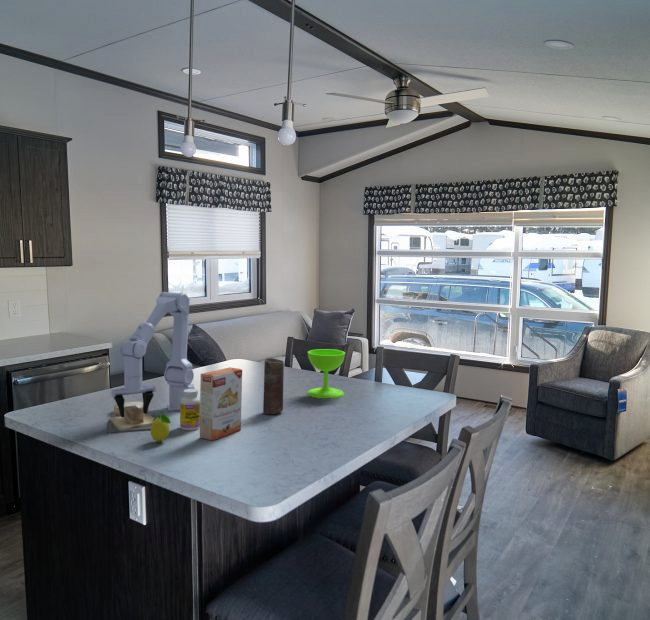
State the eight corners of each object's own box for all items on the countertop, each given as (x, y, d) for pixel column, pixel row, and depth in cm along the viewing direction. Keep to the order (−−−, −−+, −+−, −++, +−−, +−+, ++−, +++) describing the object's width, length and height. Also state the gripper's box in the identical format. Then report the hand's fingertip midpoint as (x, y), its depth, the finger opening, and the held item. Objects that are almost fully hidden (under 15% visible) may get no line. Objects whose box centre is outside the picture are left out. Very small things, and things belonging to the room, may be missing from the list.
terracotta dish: (148, 406, 208) (148, 400, 208) (148, 415, 197) (148, 408, 197) (114, 408, 204) (114, 402, 204) (113, 418, 193) (113, 410, 193)
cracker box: (213, 441, 171) (213, 375, 169) (198, 438, 174) (199, 373, 172) (242, 430, 183) (243, 368, 181) (228, 427, 186) (229, 366, 184)
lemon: (170, 445, 167) (170, 412, 166) (150, 446, 166) (150, 414, 165) (170, 437, 174) (170, 407, 173) (150, 439, 172) (150, 408, 171)
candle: (272, 408, 210) (273, 357, 208) (287, 412, 205) (288, 359, 203) (259, 413, 203) (259, 359, 201) (274, 416, 199) (274, 362, 197)
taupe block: (146, 414, 196) (146, 402, 196) (158, 424, 186) (158, 410, 185) (108, 420, 189) (108, 407, 188) (119, 430, 178) (118, 416, 178)
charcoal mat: (157, 415, 197) (157, 414, 197) (159, 429, 182) (159, 427, 182) (109, 419, 192) (109, 417, 192) (107, 433, 177) (107, 431, 177)
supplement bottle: (182, 432, 180) (182, 393, 178) (178, 426, 186) (178, 389, 184) (202, 429, 183) (203, 391, 182) (197, 424, 189) (197, 387, 187)
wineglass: (351, 395, 232) (353, 353, 230) (320, 400, 223) (321, 357, 221) (330, 388, 245) (331, 348, 243) (299, 392, 236) (300, 350, 234)
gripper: (151, 371, 193) (151, 409, 194) (107, 375, 184) (108, 415, 186) (157, 374, 187) (157, 413, 188) (113, 379, 179) (114, 420, 180)
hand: (133, 414), depth 187 cm, fingers open, 7 cm apart
